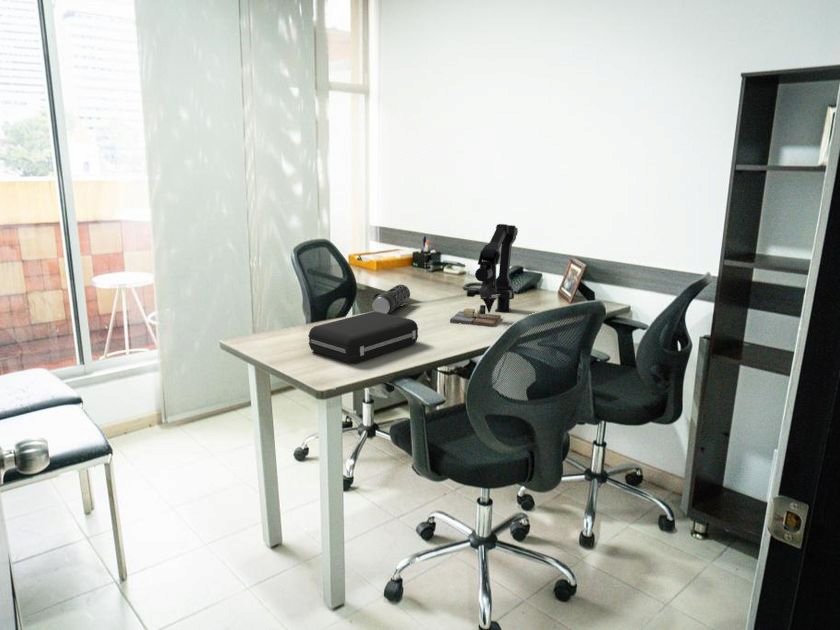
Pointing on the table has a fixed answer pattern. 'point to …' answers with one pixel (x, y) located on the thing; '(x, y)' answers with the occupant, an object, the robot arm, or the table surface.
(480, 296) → the robot arm
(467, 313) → the brass keeper
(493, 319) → the board
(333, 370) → the table surface
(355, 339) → the briefcase
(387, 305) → the dark grey textured cylinder
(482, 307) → the steel bolt
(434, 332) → the table surface
